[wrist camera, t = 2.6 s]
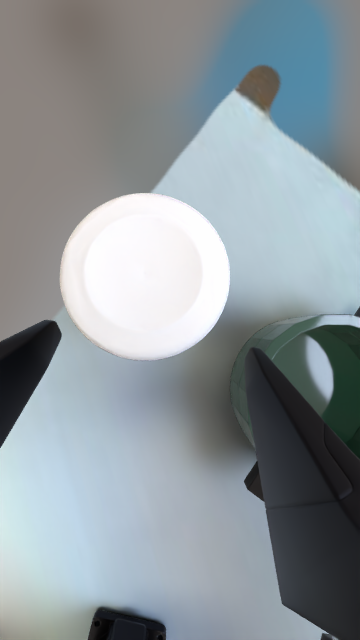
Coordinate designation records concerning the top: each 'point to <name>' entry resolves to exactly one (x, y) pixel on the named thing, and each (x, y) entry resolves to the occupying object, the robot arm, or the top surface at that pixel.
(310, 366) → the pot
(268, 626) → the top surface
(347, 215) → the top surface
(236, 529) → the top surface
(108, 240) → the sprinkles bottle
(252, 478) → the pot handles
